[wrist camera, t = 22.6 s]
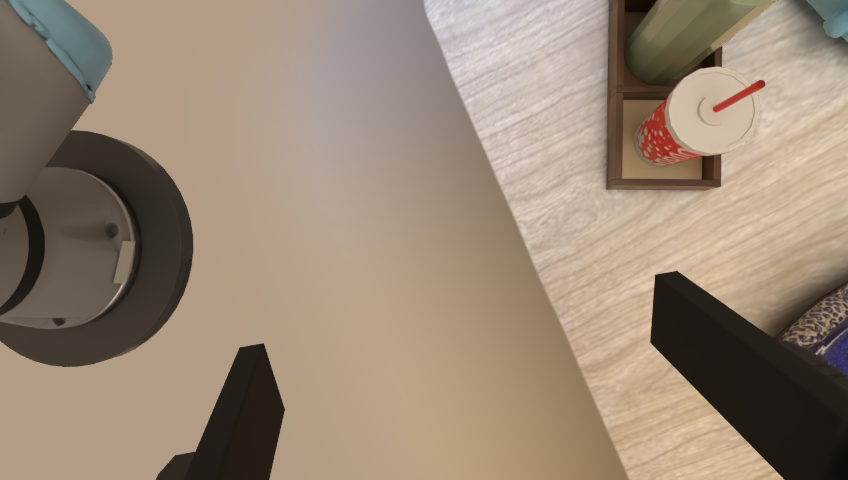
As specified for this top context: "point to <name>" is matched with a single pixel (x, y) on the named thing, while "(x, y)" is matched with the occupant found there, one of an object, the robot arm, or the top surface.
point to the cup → (685, 35)
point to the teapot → (833, 16)
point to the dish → (823, 328)
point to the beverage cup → (700, 118)
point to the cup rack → (644, 115)
